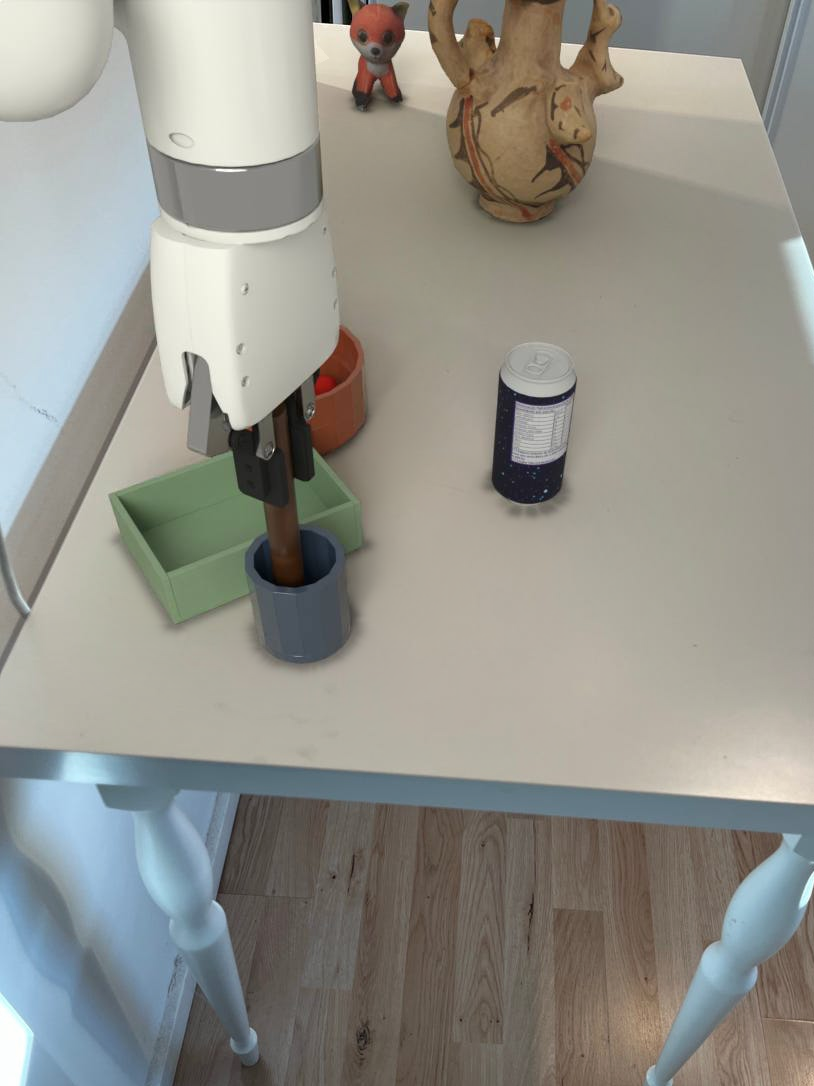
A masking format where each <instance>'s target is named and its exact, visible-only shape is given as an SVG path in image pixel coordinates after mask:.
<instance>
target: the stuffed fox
mask: <svg viewBox="0 0 814 1086" xmlns="http://www.w3.org/2000/svg"><path fill="white" fill-rule="evenodd" d="M347 3H348V6H349V9H350V12H351V15H352V20H351V23H350V27H349V38H350V39H349V40H350V41H351V44H352V45H353V46H354V48H355V49H356V50H357V52H358V53H359V54H360V55H359V58H358V61H357V73H356V75H355V78H354V81H353V84H352V88H351V94H352V96H353V98H354V100H355V101H354V102H355V106H356V108H357V109H359V110H361V111H362V112H366V111H367V108H366V106H367V104H368V102H369V101H370V99H371V97H372V96H373V95H372V94H373V90H374V85H375V83H376V82H377V81H379V83H380V85H381V87H382V90H383V92H384V93H385V94H386V96H387V98H388V99H389V100H390V102H392V103H403V102H404V101H403V100H404V98H403V94H402V90H401V88H400V86H399V84H398V80H397V76H396V71H395V68H394V63H393V58H394V57H395V56H396V54H397V53H398V51H399V50H400V48H401V47H402V44H403V43H404V41H405V38H406V29H405V23H404V22H405V18H406V16H407V14H408V10H409V8H410V3H408V2H405V1H400V2H398V3H396V4H394V5H392V6H389V5H386V4H383V3H370V4H366V3H364V2H363V1H362V0H347Z"/></svg>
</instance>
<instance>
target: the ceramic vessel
mask: <svg viewBox="0 0 814 1086" xmlns="http://www.w3.org/2000/svg"><path fill="white" fill-rule="evenodd" d="M458 2H459V0H429V4H428V7H427V9H428V10H427V29H428V36H429V41H430V46H431V49H432V51H433V53H434V55H435V57H436V59H437V61H438V63H439V65H440V68H441V69H442V71H443V72H444V74H445V75H446V77H447V78H448V80H449V81H450V82H451V85H453V87H454V88H455V90H454V91H453V94H452V96H451V98H450V102H449V106H448V108H447V112H446V118H445V119H446V120H445V132H446V138H447V143H448V148H449V153H450V157H451V159H452V162H453V166H454V168H455V169H456V170H457V172H458V174H459V175H460V176H461V178H462V179H464V181H466V183H467V184H469V185H471V186H472V187H474V188H475V189H477V190H478V193H479V199H478V202H479V204H480V206H481V208H482V209H483V210H484V211H486V212H487V213H488V214H490V215H492V216H493V217H494V218H497V219H500V220H502V221H505V222H511V223H520V224H521V223H531V222H535V221H537V220H540V219H541V218H544V217H547V216H548V215H549V214H551V213H552V212H553V211H554V210H555V206H556V200H560V199H562V198H564V197H566V196H568V195H569V194H570V193H572V191H574V190H575V189H576V188H577V187H578V186H579V185H580V183H582V181H583V179H584V178H585V176H586V174H587V172H588V170H589V168H590V166H591V163H592V161H593V157H594V152H595V150H596V149H595V148H596V145H597V135H598V125H597V116H596V113H595V109H594V101H595V100H596V98H598V97H600V96H603V95H607V94H609V93H611V92H614V91H616V90H618V89H620V88H621V87H623V85H624V83H625V79H624V77H623V76H622V75H621V74H620V73H618V72H617V71H616V70H615V68H614V67H613V64H612V62H611V59H610V53H609V45H610V43H611V41H612V39H613V36H614V34H615V33H616V32H617V31H618V30H619V29H620V27H621V26H622V22H623V16H622V12H621V9H620V8H619V7H618V6H617V5H615V4H613V3H608V2H607V1H606V0H592V4H593V6H592V11H591V17H590V22H589V26H588V29H587V30H588V31H587V36H586V40H585V42H584V44H583V46H581V48H580V49H579V51H578V53H577V55H576V58H575V60H574V62H573V63H572V64H571V66H570V67H569V68H566V67H564V66H563V65H562V64H561V50H562V40H563V39H562V37H563V21H564V13H565V7H566V3H567V0H504V9H503V12H502V13H503V14H502V20H501V28H500V37H499V41H498V44H497V45H496V37H495V32H494V29H493V26H492V25H491V24H490V23H489V22H488V21H487V20H485V19H482V18H479V17H474V18H472V19H470V20H468V22H467V26H466V30H465V32H464V34H463V36H462V37H461V38H460V40H459V41H458V40H457V37H456V33H455V27H454V13H455V10H456V7H457V5H458Z"/></svg>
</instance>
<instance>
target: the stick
mask: <svg viewBox="0 0 814 1086" xmlns="http://www.w3.org/2000/svg"><path fill="white" fill-rule="evenodd" d="M272 417H273V426H274V435H275V443H276V447H277V448H279V449H281V450H282V451H284V456H285V465H286V474H287V483H288V491H289V503H288V504H287V505H286V506H285V507H284V508H282V509H281V508H278V507H275V506H273V505H270V504H268V503H265V502H263V506H264V513H265V521H266V528H267V535H268V542H269V549H270V556H271V563H272V570H273V577H274V584H275V585H276V586H281V587H292V588H297V587H301V586H304V585H305V576H304V567H303V557H302V548H301V539H300V529H299V520H298V510H297V501H296V492H295V482H294V473H293V464H292V454H291V445H290V435H289V426H288V417H287V407H286V405H285V403H284V402H281V403H280V404H279V405H278V406H277V407H276V408H275V409H274V410H272Z"/></svg>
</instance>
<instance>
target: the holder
mask: <svg viewBox="0 0 814 1086" xmlns="http://www.w3.org/2000/svg"><path fill="white" fill-rule="evenodd" d="M299 529H300V539H301V548H302V557H303V567H304V576H305V585H304V586H301V587H297V588H292V587H281V586H276V585H275V584H274V577H273V570H272V563H271V556H270V549H269V542H268V535H267V532H265V533H263V534H262V535H260V536H258V537H257V538H255V539H254V541H253V542H252V544H251V545H250V547H249V548H248V550H247V551H246V552H245V574H246V579H247V584H248V589H249V594H248V595H249V599H250V603H251V609H252V614H253V619H254V624H255V628H256V633H257V634H258V639H259V641H260V643H261V645H262V646H263V647H264V649H265V650H266V651H267V652H268V653H269V654H270V655H271V656H273V657H274V658H276V659H279V660H282V661H284V662H286V663H287V662H288V663H291V664H292V663H293V664H309V663H315V662H319V661H322V660H324V659H327V658H329V657H330V656H333V655H334V654H335V653H337V652H338V651H339V650H340V649H341V648H342V647H343V646H345V643H346V642H347V641H348V638H349V636H350V633H351V627H352V625H351V610H350V609H351V608H350V599H349V588H348V576H347V574H348V573H347V565H346V564H347V563H346V554H345V551H344V546H343V545H342V544H341V542H340V541H339V540H338V539H337V537H336V536H335V535H334V534H333V533H331V532H329V531H327V530H325V529H323V528H320V527H318V526H315V525H308V524H299Z"/></svg>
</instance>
